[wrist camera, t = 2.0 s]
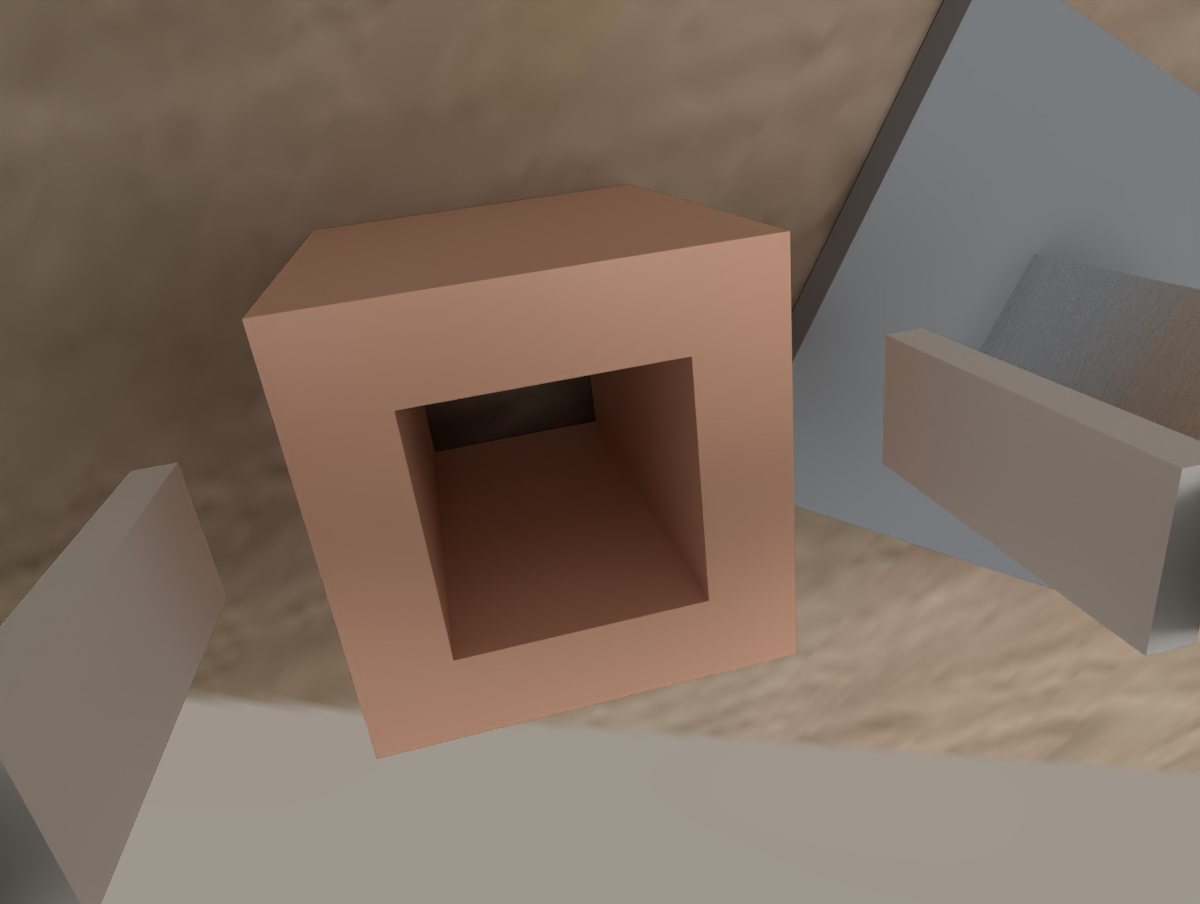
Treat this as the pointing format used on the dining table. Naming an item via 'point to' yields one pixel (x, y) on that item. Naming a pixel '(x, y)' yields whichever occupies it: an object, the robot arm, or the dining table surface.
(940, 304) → the shaft plate
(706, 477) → the square open box
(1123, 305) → the square shaft
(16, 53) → the dining table surface
